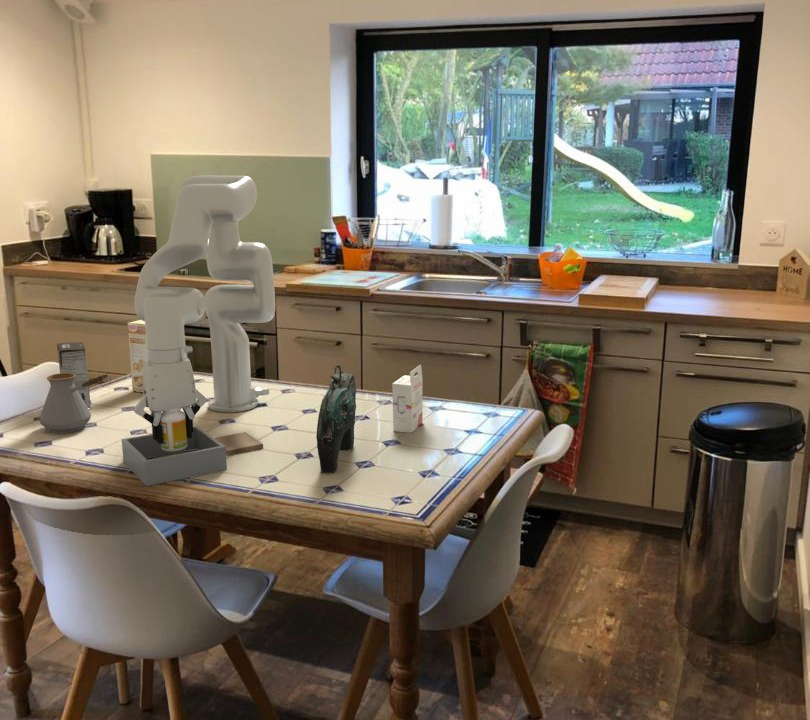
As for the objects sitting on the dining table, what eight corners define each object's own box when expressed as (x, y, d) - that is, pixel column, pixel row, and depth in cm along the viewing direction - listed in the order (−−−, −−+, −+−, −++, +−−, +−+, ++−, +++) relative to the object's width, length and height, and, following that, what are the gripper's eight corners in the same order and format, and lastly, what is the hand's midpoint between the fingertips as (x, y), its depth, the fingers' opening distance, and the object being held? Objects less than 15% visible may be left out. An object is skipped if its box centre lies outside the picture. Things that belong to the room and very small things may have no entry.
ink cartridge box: (403, 421, 207) (403, 362, 203) (423, 423, 205) (423, 364, 202) (391, 431, 199) (391, 370, 195) (411, 433, 197) (411, 372, 194)
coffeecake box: (151, 394, 231) (146, 324, 226) (131, 391, 234) (125, 322, 229) (187, 381, 244) (182, 315, 240) (167, 379, 247) (162, 313, 243)
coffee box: (62, 402, 223) (56, 343, 220) (88, 400, 226) (82, 340, 222) (64, 411, 215) (58, 350, 212) (91, 408, 218) (85, 347, 214)
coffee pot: (29, 431, 200) (23, 369, 196) (69, 418, 210) (63, 359, 206) (93, 445, 190) (87, 380, 186) (132, 431, 200) (127, 369, 196)
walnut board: (245, 436, 196) (245, 432, 195) (263, 448, 187) (262, 443, 187) (203, 443, 190) (203, 439, 190) (220, 456, 182) (219, 452, 182)
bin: (199, 447, 188) (197, 425, 187) (226, 469, 174) (225, 446, 173) (123, 461, 179) (121, 439, 178) (146, 486, 166) (144, 462, 165)
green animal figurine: (336, 442, 191) (334, 356, 186) (364, 444, 190) (362, 357, 185) (311, 473, 172) (308, 378, 167) (342, 475, 171) (340, 380, 166)
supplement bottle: (190, 442, 179) (186, 399, 177) (184, 451, 174) (181, 406, 172) (164, 443, 179) (160, 399, 177) (158, 452, 174) (154, 407, 172)
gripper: (201, 345, 179) (206, 426, 184) (119, 357, 170) (127, 442, 175) (214, 352, 173) (219, 436, 178) (129, 365, 164) (137, 452, 169)
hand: (173, 438), depth 176 cm, fingers closed on supplement bottle, 5 cm apart
